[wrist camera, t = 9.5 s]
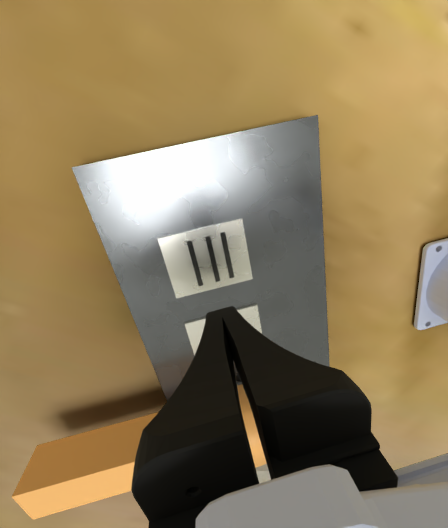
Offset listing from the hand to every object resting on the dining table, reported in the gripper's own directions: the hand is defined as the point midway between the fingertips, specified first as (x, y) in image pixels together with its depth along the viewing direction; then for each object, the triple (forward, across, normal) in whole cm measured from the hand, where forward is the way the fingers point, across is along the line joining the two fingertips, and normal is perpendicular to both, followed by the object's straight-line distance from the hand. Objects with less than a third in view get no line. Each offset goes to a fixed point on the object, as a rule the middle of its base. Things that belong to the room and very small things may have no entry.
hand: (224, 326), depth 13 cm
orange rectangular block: (+3, +6, +10) cm, 12 cm away
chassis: (+6, -1, +1) cm, 6 cm away
